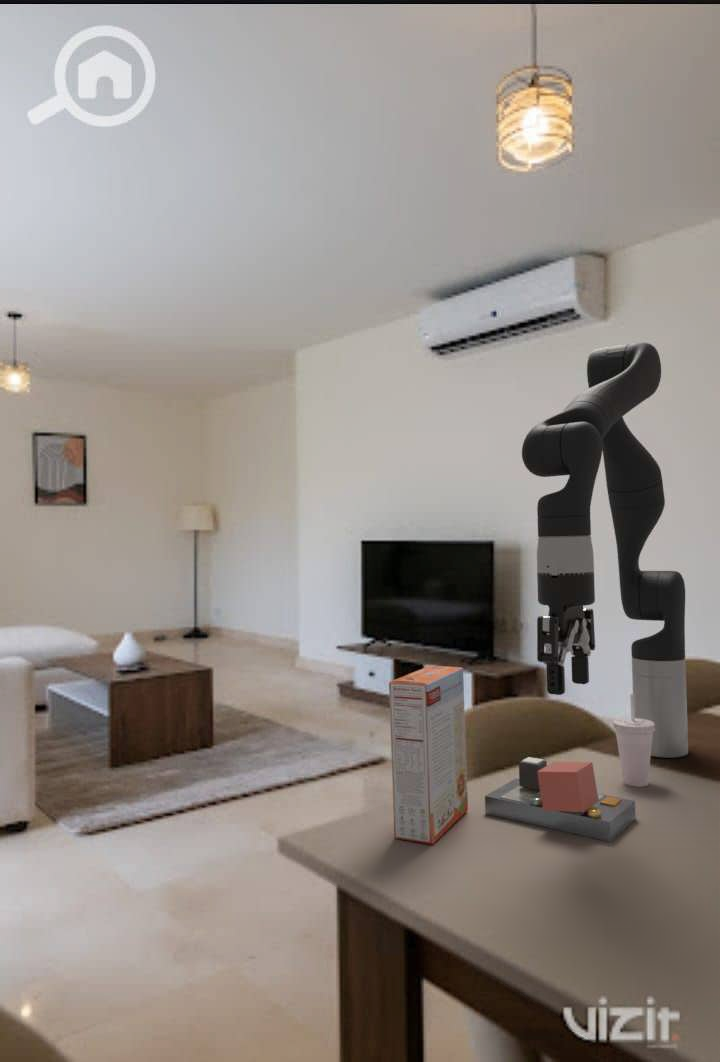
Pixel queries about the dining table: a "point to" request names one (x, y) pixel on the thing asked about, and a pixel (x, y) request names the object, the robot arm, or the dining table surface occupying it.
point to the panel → (561, 812)
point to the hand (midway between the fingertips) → (568, 688)
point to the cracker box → (428, 752)
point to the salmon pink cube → (567, 786)
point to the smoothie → (634, 747)
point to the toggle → (530, 772)
